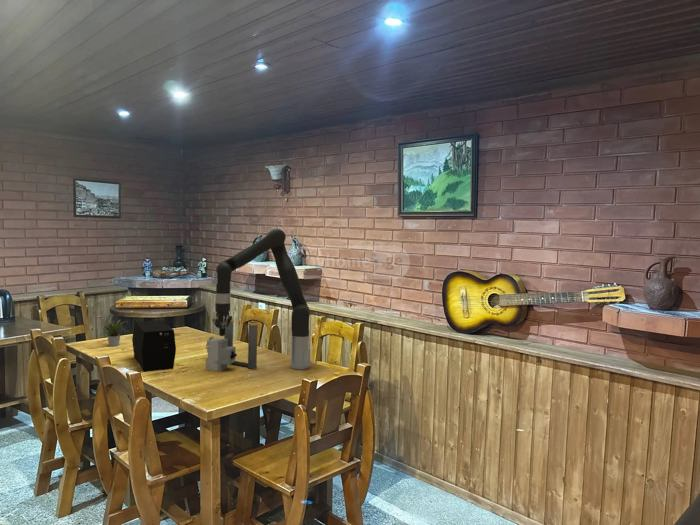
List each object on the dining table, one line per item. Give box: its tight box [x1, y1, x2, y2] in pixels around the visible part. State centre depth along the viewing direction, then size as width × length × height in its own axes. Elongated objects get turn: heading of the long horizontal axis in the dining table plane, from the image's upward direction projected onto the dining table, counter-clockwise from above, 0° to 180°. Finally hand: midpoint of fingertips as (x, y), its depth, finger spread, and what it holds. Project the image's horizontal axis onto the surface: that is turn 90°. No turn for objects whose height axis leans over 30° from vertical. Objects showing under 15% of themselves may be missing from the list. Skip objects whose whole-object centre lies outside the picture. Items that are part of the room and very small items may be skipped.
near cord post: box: [247, 321, 259, 370], centre depth 259 cm, size 5×5×24 cm
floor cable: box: [231, 360, 248, 368], centre depth 264 cm, size 11×2×2 cm, turn 64°
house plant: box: [103, 319, 127, 348], centre depth 299 cm, size 14×14×16 cm
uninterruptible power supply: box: [131, 319, 177, 373], centre depth 262 cm, size 16×34×20 cm, turn 31°
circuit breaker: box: [205, 337, 238, 372], centre depth 255 cm, size 8×14×15 cm, turn 78°
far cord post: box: [223, 318, 235, 365], centre depth 267 cm, size 5×5×24 cm
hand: (222, 335), depth 254 cm, fingers closed
